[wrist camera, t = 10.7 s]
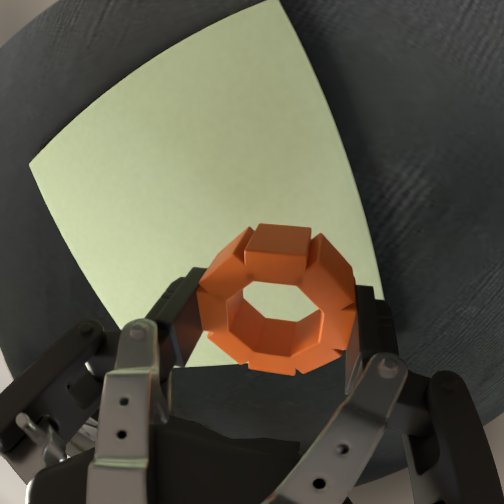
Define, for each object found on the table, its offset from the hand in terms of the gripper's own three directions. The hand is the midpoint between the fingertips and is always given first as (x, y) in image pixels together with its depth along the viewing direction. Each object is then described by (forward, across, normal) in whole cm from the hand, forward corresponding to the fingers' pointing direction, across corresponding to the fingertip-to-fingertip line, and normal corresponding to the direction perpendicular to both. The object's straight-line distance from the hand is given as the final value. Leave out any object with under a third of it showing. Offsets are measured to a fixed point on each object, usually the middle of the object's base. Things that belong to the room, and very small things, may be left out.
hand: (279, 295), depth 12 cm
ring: (+1, 0, 0) cm, 1 cm away
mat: (+5, +6, 0) cm, 8 cm away
